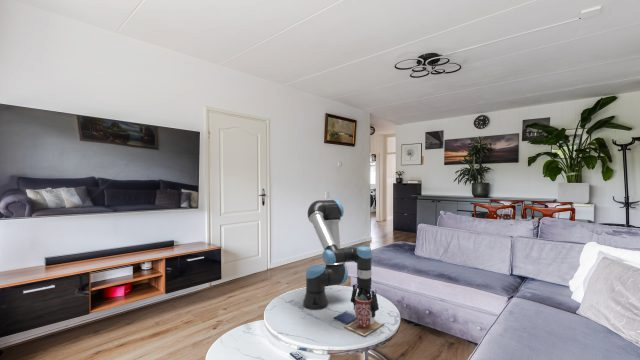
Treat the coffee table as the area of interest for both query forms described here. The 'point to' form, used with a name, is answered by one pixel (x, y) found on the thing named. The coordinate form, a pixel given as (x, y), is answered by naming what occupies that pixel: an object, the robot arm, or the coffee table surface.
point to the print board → (364, 328)
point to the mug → (363, 311)
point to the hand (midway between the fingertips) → (364, 319)
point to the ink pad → (345, 318)
